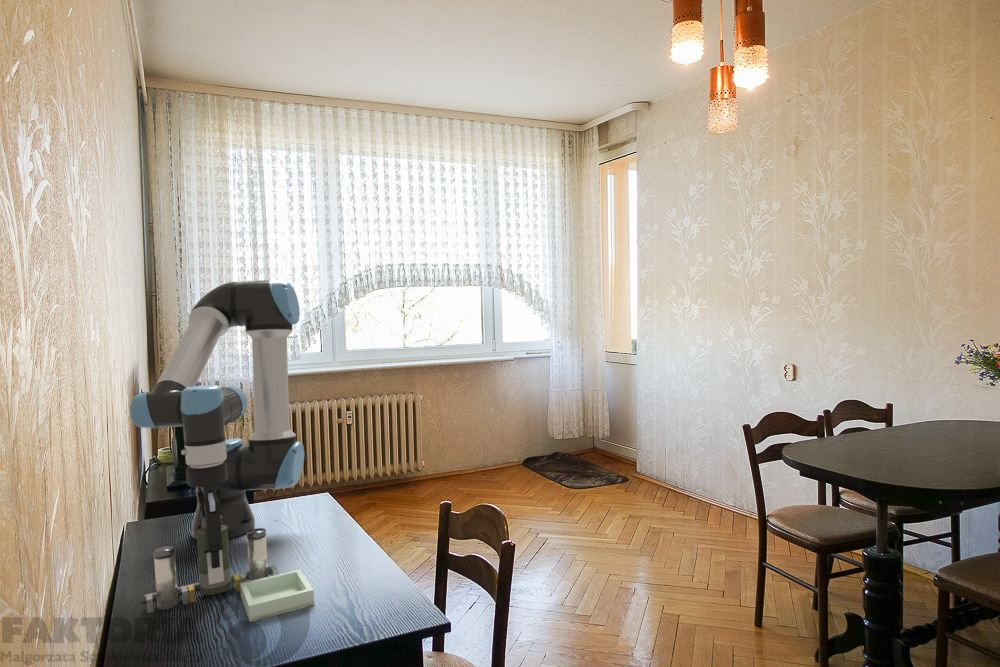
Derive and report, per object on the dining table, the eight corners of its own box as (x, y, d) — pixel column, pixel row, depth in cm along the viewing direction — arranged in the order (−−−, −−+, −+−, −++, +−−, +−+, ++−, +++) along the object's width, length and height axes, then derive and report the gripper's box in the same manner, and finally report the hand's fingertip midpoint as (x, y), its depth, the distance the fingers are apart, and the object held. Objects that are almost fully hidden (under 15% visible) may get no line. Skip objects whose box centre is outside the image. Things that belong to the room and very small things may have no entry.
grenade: (238, 584, 132) (233, 512, 131) (212, 597, 127) (206, 522, 126) (218, 579, 135) (213, 508, 134) (192, 591, 130) (186, 517, 129)
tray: (241, 598, 128) (240, 583, 128) (300, 583, 134) (300, 569, 134) (249, 622, 118) (248, 606, 118) (314, 605, 124) (313, 589, 124)
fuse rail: (144, 599, 129) (140, 545, 129) (274, 569, 142) (271, 520, 141) (144, 614, 123) (140, 557, 122) (281, 581, 135) (278, 529, 135)
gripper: (182, 457, 136) (190, 564, 137) (189, 477, 119) (198, 599, 121) (221, 451, 140) (228, 556, 141) (232, 470, 123) (241, 589, 124)
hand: (214, 575), depth 131 cm, fingers closed on grenade, 6 cm apart
